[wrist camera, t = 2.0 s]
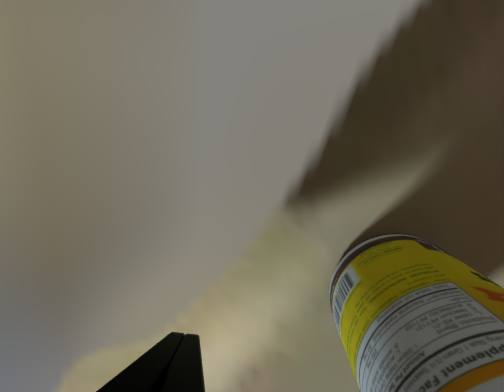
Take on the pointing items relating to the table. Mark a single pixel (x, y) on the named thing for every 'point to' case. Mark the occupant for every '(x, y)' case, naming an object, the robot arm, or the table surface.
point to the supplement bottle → (417, 319)
